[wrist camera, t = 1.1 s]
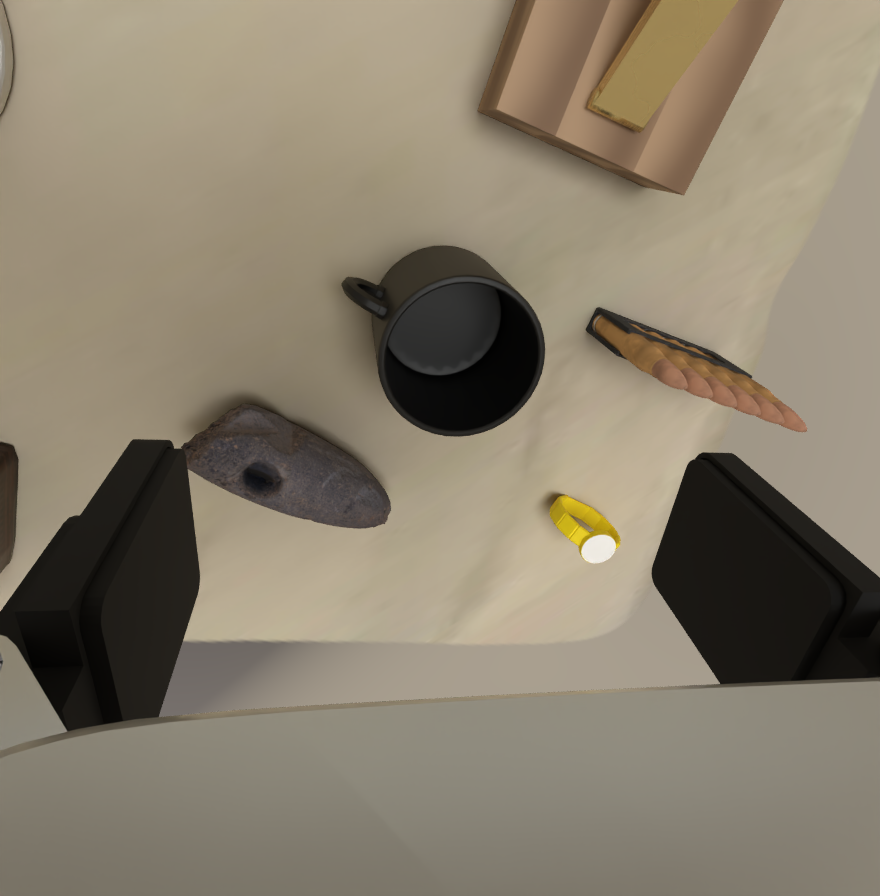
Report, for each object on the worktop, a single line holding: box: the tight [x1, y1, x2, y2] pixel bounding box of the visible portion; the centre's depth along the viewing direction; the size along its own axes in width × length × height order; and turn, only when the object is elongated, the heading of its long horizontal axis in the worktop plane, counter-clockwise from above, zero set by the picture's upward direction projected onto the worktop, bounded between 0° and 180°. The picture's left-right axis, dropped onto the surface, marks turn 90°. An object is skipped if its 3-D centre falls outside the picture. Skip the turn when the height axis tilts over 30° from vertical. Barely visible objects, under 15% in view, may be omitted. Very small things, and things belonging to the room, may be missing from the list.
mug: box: [342, 246, 545, 436], centre depth 36 cm, size 9×12×9 cm
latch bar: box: [587, 0, 738, 133], centre depth 27 cm, size 3×8×1 cm
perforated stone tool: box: [181, 404, 391, 529], centre depth 41 cm, size 15×5×7 cm, turn 54°
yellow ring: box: [550, 495, 621, 563], centre depth 47 cm, size 6×3×6 cm, turn 59°
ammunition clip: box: [586, 307, 807, 432], centre depth 38 cm, size 11×2×12 cm, turn 68°
